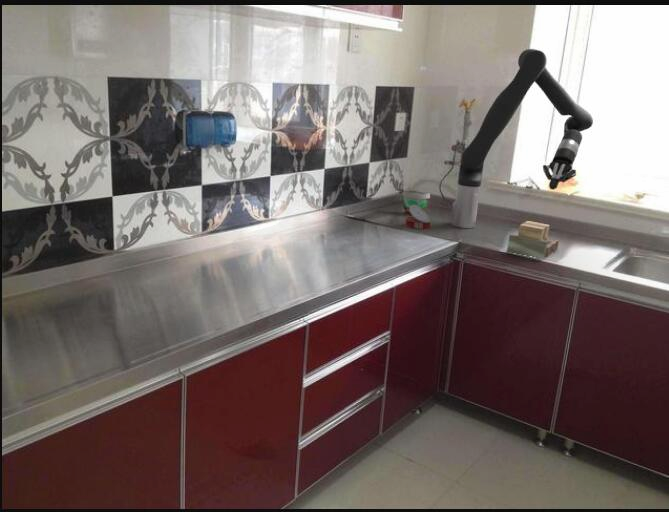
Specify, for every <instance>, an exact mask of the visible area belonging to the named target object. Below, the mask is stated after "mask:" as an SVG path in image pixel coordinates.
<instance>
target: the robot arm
mask: <svg viewBox="0 0 669 512" xmlns="http://www.w3.org/2000/svg"><path fill="white" fill-rule="evenodd" d="M547 61H548V58H547V55H546V54H545V53H544V52H543V51H542V50H540V49H535V48H529V49H528V48H527V49H525V50H524V51H522V52H521V53H520V54H519V57H518V60H517V62H518V63H517V64H518V71H517V72H516V74H515V76H514V78H513V79H512V80H511V82H510V83H509V84H508V85H507V86H506V87H505V88H504V89H503V90H502V91H501V92H500V93H499V95H498V96H497V97H496V98H495V100H494V101H493V103H492V104H491V106H490V107H489V109H488V111H487V113H486V114H485V117H484V118H483V121H482V123H481V126H480V128H479V130H478V132H477V133H476V135H475V137H474V138H473V139H472V141H471V142H470V143H469V145H468V146H467V147H465V148H464V149H463V151H462V153H461V156H460V157H461V158H460V165H459V172H458V173H459V174H458V181H457V186H456V188H457V189H456V195H455V201H454V202H453V204H452V211H451V218H450V219H451V221H450V226H454V227H457V228H462V229H474V228H476V227H475V226H476V220H477V212H478V208H479V207H478V206H479V201H480V199H479V197H480V194H481V193H480V192H481V185H482V180H483V179H482V177H483V171H484V163H485V160H486V158H487V156H488V154H489V152H490V150H491V148H492V146H493V144H494V143H495V141H496V140H497V138H498V137H499V136H500V135H501V133H502V132H504V130H505V129H506V127H507V126H508V124H509V123H510V121H511V120H512V118H513V117H514V115H515V113H516V112H517V109H518V108H519V106H520V105H521V103H522V101H523V100H524V98H525V97H526V95H527V93H528V91H529V90H530V88H531V87H532V86H533V84H534V83H535V84H536V85H537V86H538V87H539V88H540V90H541V91H542V92H543V93H544V95H545V96H546V98H547V99H548V101H549V102H550V103H551V104H552V106H553V107H554V108H555V110H556V111H557V112H558V114H560V115H561V116H569V117H568V118H567V119H566V120H565V123H564V126H563V136H562V138H561V141H560V143H559V145H558V146H557V148H556V151H555V154H554V156H553V158H552V160H551V162H550V163H549V164H548V165H546V164H544V165H542V170H543V173H544V175H545V176H546V178H547V180H548V181H549V183H548V187H549V188H550V190H555V189H557V188H558V186H559V183H560V182H561V183H565V182H567V181H569V180H570V179H572V178H574V177H576V175H577V170H576V169H573V164H574V163H575V160H576V157H577V156H578V152H579V148H580V146H581V143H582V140H583V134H582V133H581V132H583V131H585V130H588V129H591V127H592V126H593V123H594V119H593V116H592V114H591V113H590V111H588V110H587V109H585V108H584V107H583V106H582V105H580V104H579V103H577V102H576V101H575V100H574V99H573V96H571V95H570V93H569V92H568V91H567V90H566V88H565V87H563V85H562V84H561V83H560V82H559V81H558V80H557V79H556V78H555V77H554V76H553V74H551V73H550V71H549V69H548V68H547V64H548V63H547ZM550 171H551V172H550Z"/></svg>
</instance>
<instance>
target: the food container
mask: <svg viewBox="0 0 669 512" xmlns="http://www.w3.org/2000/svg"><path fill="white" fill-rule="evenodd" d="M401 194H402V196H403V214H404V213H405V215H407V214H408V215H407V216H412V214H411V213H410V207H411V205H414V204H415V205H418V206H420V207H421V208H422V210H424V211H425V212H426V211H427V206H428V202H429V199H430V198H431V194H430V192H428V193H421V192H417V191H415V192H409V191H407V190H403V191H402V193H401Z"/></svg>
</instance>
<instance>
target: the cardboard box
mask: <svg viewBox="0 0 669 512" xmlns="http://www.w3.org/2000/svg"><path fill="white" fill-rule="evenodd" d="M550 226H551V225H550V224H546V223H542V222H536V221H530V220H527V221H525V222H523V223H521V224H519V228H518V229H519V230H518V234H517V235H520V236H525V237H530V238H535V239H540V240H545V241H547V240H548V238H549V232H550Z"/></svg>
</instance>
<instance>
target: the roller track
mask: <svg viewBox="0 0 669 512" xmlns="http://www.w3.org/2000/svg"><path fill="white" fill-rule="evenodd" d="M559 243H560V240H559V239H554V240H548V239H547V241H545V240H540V239H535V238H530V237H525V236H520V235H518V234H514V233H510V234H509V237H508V242H507V248H506V249H507V250H506V252H507V253H509V252H510V254H513V253H516V254H515V255H518V254H521V255H520V256H523V255H526V256H525V257H527V256H532V257H536V258H541V259H543V260H544V258H545V257H546V256H547V257H549V256H550V255H551V253H552V252H553V253H554V252H556V251H557V250H558V248H559ZM555 250H556V251H555ZM553 253H552V254H553ZM549 254H550V255H549ZM548 255H549V256H548ZM532 257H531V258H532ZM547 257H546V258H547ZM536 258H535V259H536ZM546 258H545V259H546ZM541 259H540V260H541Z"/></svg>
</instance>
